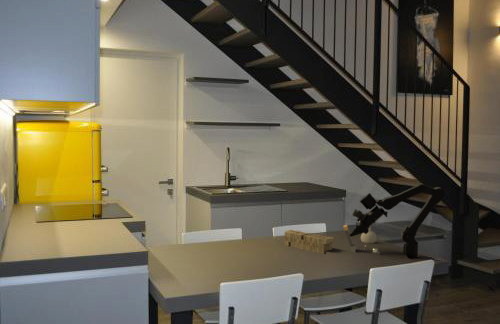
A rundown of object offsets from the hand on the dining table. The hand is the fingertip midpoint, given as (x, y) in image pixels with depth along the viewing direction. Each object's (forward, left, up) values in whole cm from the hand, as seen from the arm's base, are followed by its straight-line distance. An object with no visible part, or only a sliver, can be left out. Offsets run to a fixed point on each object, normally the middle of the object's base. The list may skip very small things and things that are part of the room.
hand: (350, 235), depth 269 cm
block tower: (+19, +13, -9) cm, 24 cm away
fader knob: (-3, -9, -8) cm, 12 cm away
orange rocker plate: (-1, -1, -6) cm, 6 cm away
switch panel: (-5, -5, -9) cm, 11 cm away
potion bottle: (+10, -26, -9) cm, 29 cm away
